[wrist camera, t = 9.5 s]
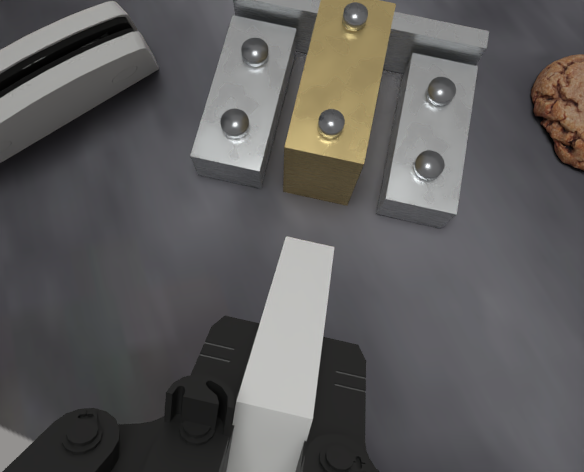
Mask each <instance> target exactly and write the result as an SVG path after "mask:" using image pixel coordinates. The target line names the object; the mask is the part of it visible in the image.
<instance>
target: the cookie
mask: <svg viewBox="0 0 584 472" xmlns="http://www.w3.org/2000/svg"><path fill="white" fill-rule="evenodd" d="M531 91H532V92H531V96H532V102H533V103H534V109H533V111H534V114H535V116H540V117H541V118H544V120H543V121H541V123H540V124H541V125H543V127H544V128H545V129H546V130H547V132H548V133H549V134H550V136H551V138H553V141H554V143H555V144H554V148H555V152H556V154H557V155H558V157H559V158H560V160H561V161H562V162H563V163H566V164H569V165H571V166H573V167H575V168H579V169H581V170H583V171H584V55H572V56H568V57H564V58H562V59H560V60H557V61H554V62H553V63H552V64H549V65H548V66H547V67H546V68H545V69H544V70H543V71H542V72H541V73H540V74H539V75H538V77H537V79H536V81H535V83H534V86H533V87H532V89H531Z"/></svg>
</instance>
